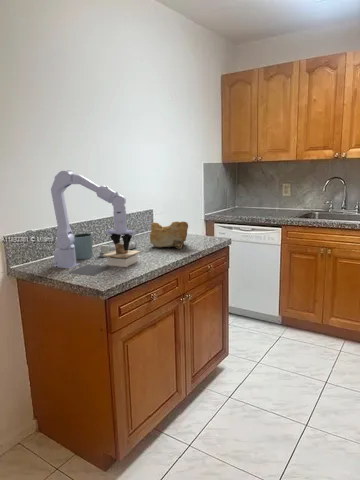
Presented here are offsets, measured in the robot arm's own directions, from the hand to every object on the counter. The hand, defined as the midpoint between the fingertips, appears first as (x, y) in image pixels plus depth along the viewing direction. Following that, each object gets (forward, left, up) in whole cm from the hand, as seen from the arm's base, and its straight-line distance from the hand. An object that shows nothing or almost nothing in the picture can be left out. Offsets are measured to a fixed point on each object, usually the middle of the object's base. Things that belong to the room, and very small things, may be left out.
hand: (122, 249), depth 170 cm
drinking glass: (-26, +4, -7) cm, 27 cm away
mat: (-8, -14, -7) cm, 18 cm away
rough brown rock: (+7, +41, -7) cm, 42 cm away
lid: (0, 0, -2) cm, 2 cm away
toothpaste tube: (-15, +19, -7) cm, 26 cm away
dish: (0, 0, -7) cm, 7 cm away
